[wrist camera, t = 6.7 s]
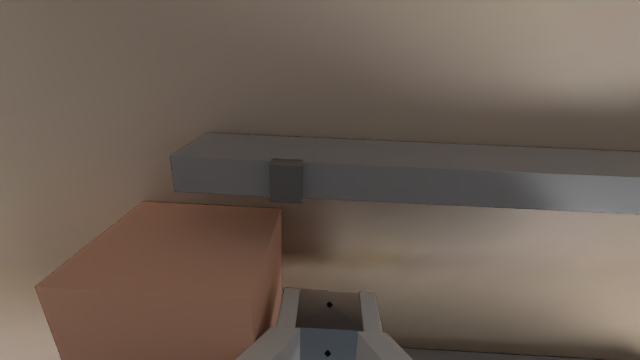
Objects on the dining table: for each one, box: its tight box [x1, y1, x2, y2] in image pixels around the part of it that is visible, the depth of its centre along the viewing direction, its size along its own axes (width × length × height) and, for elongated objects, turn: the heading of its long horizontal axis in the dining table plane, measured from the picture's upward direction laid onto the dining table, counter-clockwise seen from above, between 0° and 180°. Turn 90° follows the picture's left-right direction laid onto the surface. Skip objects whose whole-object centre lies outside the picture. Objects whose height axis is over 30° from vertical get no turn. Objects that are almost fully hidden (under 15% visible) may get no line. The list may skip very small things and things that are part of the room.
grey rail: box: [170, 133, 640, 360], centre depth 11 cm, size 18×10×3 cm, turn 88°
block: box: [35, 202, 282, 360], centre depth 10 cm, size 5×5×4 cm
